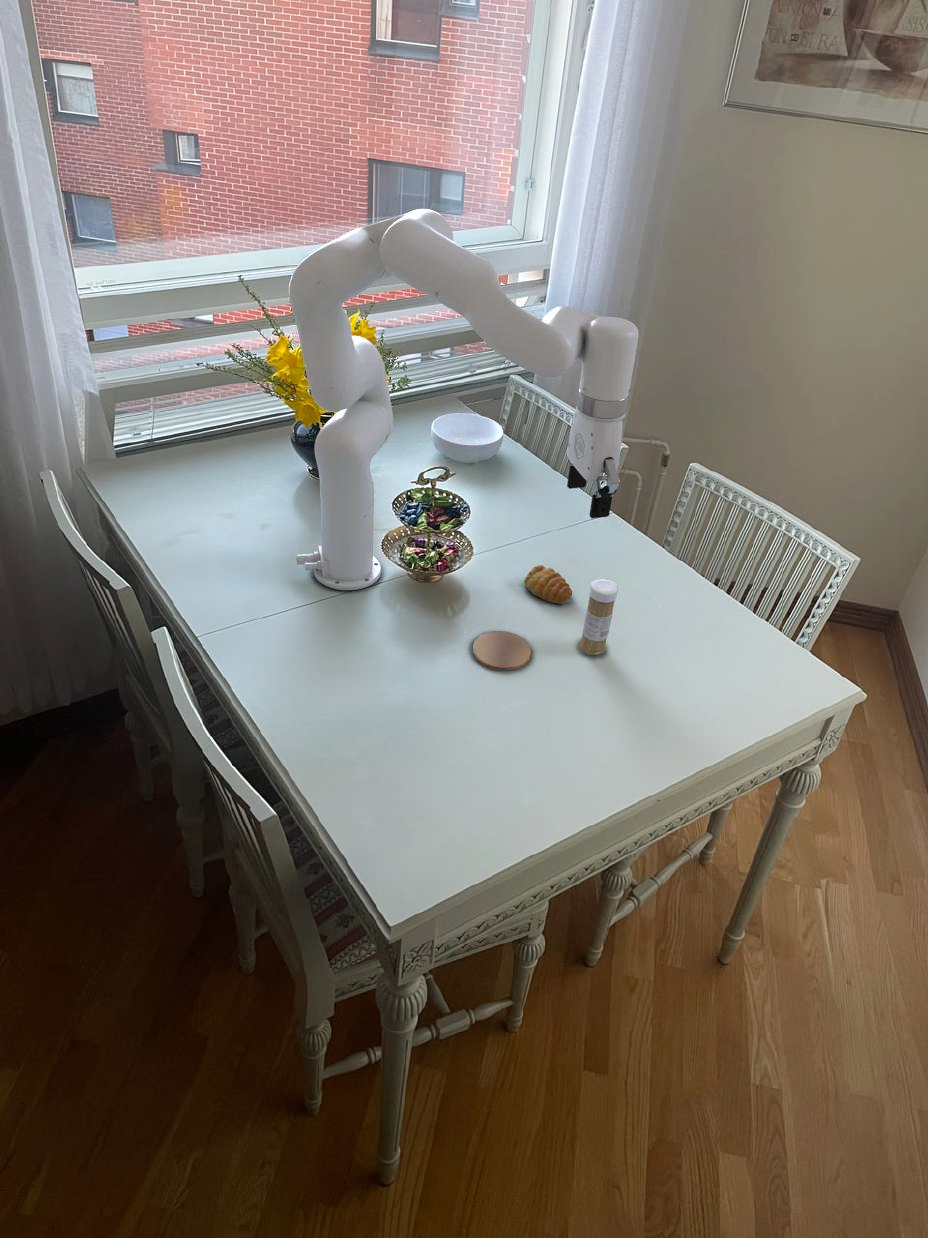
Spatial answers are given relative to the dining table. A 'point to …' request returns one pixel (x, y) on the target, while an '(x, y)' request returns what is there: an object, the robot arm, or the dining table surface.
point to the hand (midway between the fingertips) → (587, 501)
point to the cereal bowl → (466, 437)
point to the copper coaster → (501, 650)
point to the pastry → (548, 585)
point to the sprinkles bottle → (598, 616)
